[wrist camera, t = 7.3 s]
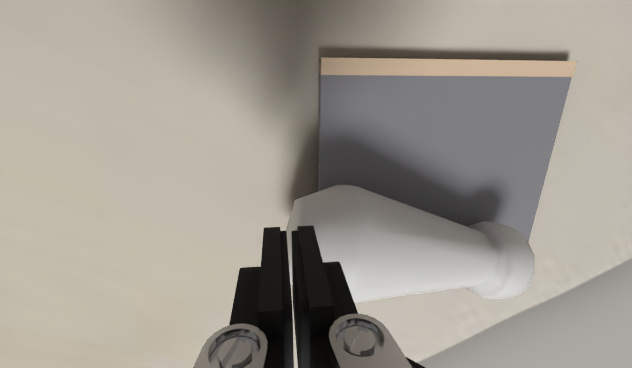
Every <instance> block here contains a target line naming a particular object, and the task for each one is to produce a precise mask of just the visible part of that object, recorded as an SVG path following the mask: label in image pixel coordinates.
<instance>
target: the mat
mask: <svg viewBox="0 0 632 368" xmlns="http://www.w3.org/2000/svg"><path fill="white" fill-rule="evenodd" d="M576 65H577V61H531V60H462V59H394V58H326V57H321V58H319V161H318V191H321V190H324V189H327V188H330V187H333V186H336V185H351V186H357V187H360V188H363V189H365V190H368V191H371V192H374V193H376V194H379V195H382V196H384V197H387V198H390V199H393V200H395V201H398V202H401V203H404V204H406V205H409V206H412V207H415V208H417V209H420V210H423V211H425V212H428V213H431V214H434V215H436V216H439V217H442V218H445V219H447V220H450V221H453V222H455V223H458V224H461V225H464V226H466V227H467V226H469V225H473V224H476V223H479V222H483V221H486V222H495V223H499V224H503V225H507V226H510V227H512V228H515V229H516V230H517V231H518V232H519V233H520V234H521V235H523V236H524V237H525V238H526V239H527V241H529V237H530V233H531V229H532V225H533V222H534V218H535V214H536V210H537V206H538V203H539V199H540V195H541V191H542V187H543V184H544V180H545V176H546V172H547V169H548V165H549V161H550V157H551V153H552V150H553V146H554V142H555V138H556V134H557V131H558V127H559V123H560V119H561V115H562V112H563V108H564V104H565V100H566V96H567V93H568V89H569V85H570V81H571V78H572V77H573V76H574V72H575V69H576Z"/></svg>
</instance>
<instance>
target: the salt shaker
mask: <svg viewBox="0 0 632 368" xmlns="http://www.w3.org/2000/svg"><path fill="white" fill-rule="evenodd" d="M310 225H313V226H314V230H315V234H316V237H317V241H318V245H319V249H320V253H321V257H322V261H323V262H337V261H339V262H340V264H341V267H342V269H343V272H344V275H345V278H346V281H347V284H348V287H349V289H350V292H351V295H352V298H353V301H354V303H357V302H363V301H369V300H376V299H382V298H389V297H396V296H404V295H411V294H419V293H426V292H434V291H441V290H449V289H456V288H464V287H465V288H466V289H468V290H469V291H471V292H473V293H475V294H476V295H478V296H480V297H482V298H488V299H503V298H511V297H516V296H517V295H519V294H520V293H521V292H523V291H524V290H526V289H527V288H528V286H529V284H530V282H531V279H532V277H533V275H534V254H533V252H532V250H531V247H530V245H529V243H528V241H527V239H526V238H525V237H524V236H523V235H521V234H520V233H519V232H518V231H517V230H516V229H515V228H512V227H510V226H507V225H503V224H499V223H495V222H486V221H483V222H479V223H476V224H473V225H469V226H467V227H466V226H464V225H461V224H458V223H455V222H453V221H450V220H447V219H445V218H442V217H439V216H436V215H434V214H431V213H428V212H425V211H423V210H420V209H417V208H415V207H412V206H409V205H406V204H404V203H401V202H398V201H395V200H393V199H390V198H387V197H384V196H382V195H379V194H376V193H374V192H371V191H368V190H365V189H363V188H360V187H357V186H351V185H336V186H333V187H330V188H327V189H324V190H321V191H318V192H316V193H313V194H310V195H307V196H303V197H301V198H298V199H296V200H295V201H294V204H293V208H292V211H291V215H290V218H289V222H288V225H287V230H286V232H287V245H288V259H289V272H290V284H291V285H293V283H292V238H291V231H294V230H297V226H310Z"/></svg>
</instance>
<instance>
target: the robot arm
mask: <svg viewBox="0 0 632 368" xmlns="http://www.w3.org/2000/svg"><path fill="white" fill-rule="evenodd" d="M291 238H292V283H293V309H294V321H295V334H296V347H297V359H298V368H425V367H423V366H421V365H419V364H418V363H416V362H414V361H412V360H410V359H409V358H407V357H405V356H404V354H403V352H402V351H401V349H400V348H399V346H398V345H397V343H396V342H395V340H394V339H393V337H392V335H391V334H390V332H389V331H388V329H387V328H386V327H385V326H384V325H383V324H382V323H381V322H380V321H378V320H377V319H375V318H373V317H370V316H368V315H364V314H358V312H357V309H356V306H355V304H354V301H353V298H352V295H351V292H350V289H349V287H348V284H347V281H346V278H345V275H344V272H343V269H342V267H341V264H340V262H339V261H337V262H323V261H322V257H321V253H320V249H319V245H318V241H317V237H316V234H315V230H314V226H313V225H310V226H297V230H294V231H291ZM193 368H294V361H293V319H292V299H291V286H290V272H289V259H288V245H287V232H286V231H280V227H272V228H264V234H263V247H262V261H261V267H247V268H240V271H239V276H238V281H237V287H236V292H235V298H234V303H233V309H232V314H231V319H230V325H229V326H227V327H224V328H222V329H220V330H219V331H217V332H215V333H214V334H213V335H212V336H211V337H210V338H208V339H207V341H206V343H205V344H204V346H203V347H202V349H201V352H200V354H199V356H198V358H197V361H196V363H195V365H194V367H193Z"/></svg>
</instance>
